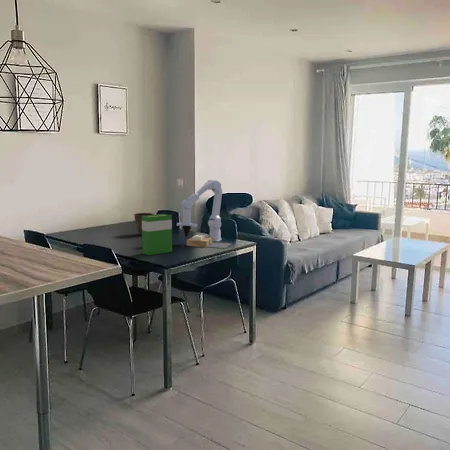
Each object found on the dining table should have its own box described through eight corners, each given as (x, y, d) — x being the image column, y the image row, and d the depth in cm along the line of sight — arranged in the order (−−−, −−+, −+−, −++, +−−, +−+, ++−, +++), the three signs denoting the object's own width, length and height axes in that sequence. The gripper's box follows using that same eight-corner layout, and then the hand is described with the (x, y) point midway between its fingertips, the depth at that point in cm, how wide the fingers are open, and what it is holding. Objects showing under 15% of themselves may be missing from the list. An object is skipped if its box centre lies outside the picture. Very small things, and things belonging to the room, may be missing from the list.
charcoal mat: (213, 243, 337) (213, 242, 337) (231, 244, 334) (231, 243, 334) (206, 247, 322) (206, 246, 322) (224, 248, 318) (224, 247, 318)
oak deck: (194, 241, 341) (194, 236, 341) (213, 242, 337) (213, 237, 337) (186, 245, 326) (186, 240, 326) (205, 247, 322) (205, 241, 322)
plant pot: (155, 235, 364) (155, 215, 361) (136, 236, 358) (136, 215, 356) (151, 232, 378) (151, 212, 375) (132, 233, 372) (132, 213, 370)
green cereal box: (165, 249, 313) (165, 213, 309) (172, 251, 307) (171, 214, 304) (142, 253, 302) (141, 215, 298) (148, 255, 296) (147, 217, 292)
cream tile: (197, 237, 337) (197, 234, 336) (205, 237, 335) (205, 235, 335) (192, 239, 328) (192, 236, 328) (200, 240, 326) (200, 237, 326)
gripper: (174, 217, 330) (175, 236, 332) (194, 218, 326) (194, 238, 328) (178, 216, 337) (178, 235, 339) (198, 217, 333) (198, 236, 335)
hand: (186, 236), depth 334 cm, fingers closed
